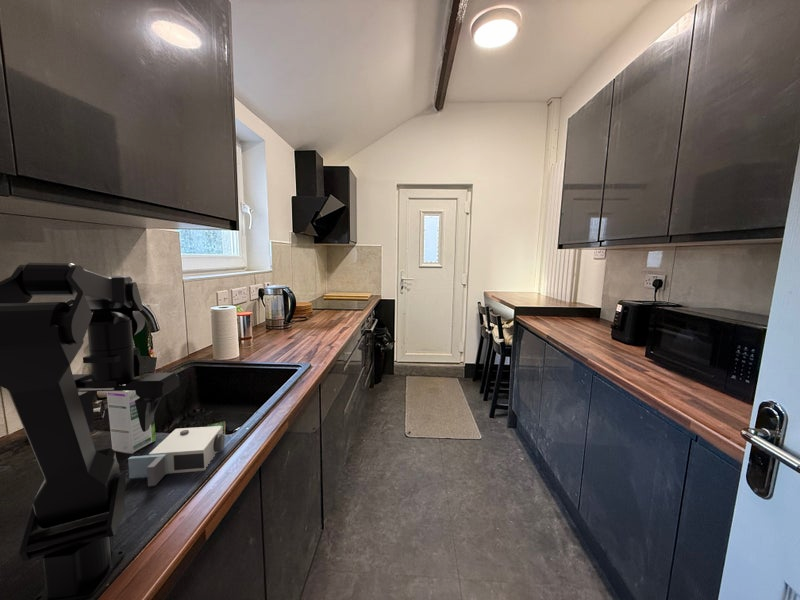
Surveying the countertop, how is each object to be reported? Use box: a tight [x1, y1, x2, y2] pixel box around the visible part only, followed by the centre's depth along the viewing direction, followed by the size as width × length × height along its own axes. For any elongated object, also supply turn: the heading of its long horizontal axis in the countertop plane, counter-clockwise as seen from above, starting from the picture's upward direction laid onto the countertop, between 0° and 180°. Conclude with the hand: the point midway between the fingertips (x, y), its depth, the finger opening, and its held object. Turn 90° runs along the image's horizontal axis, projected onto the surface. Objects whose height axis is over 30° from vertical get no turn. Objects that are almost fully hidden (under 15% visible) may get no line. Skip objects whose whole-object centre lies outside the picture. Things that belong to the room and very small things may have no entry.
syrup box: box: [106, 390, 157, 455], centre depth 73 cm, size 6×6×14 cm
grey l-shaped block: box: [127, 454, 168, 487], centre depth 61 cm, size 4×6×4 cm, turn 99°
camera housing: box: [148, 425, 226, 475], centre depth 69 cm, size 10×11×5 cm
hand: (118, 431), depth 57 cm, fingers open, 9 cm apart
